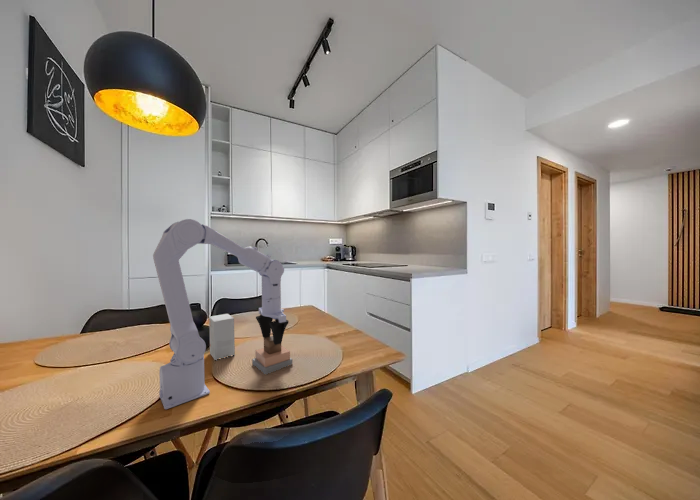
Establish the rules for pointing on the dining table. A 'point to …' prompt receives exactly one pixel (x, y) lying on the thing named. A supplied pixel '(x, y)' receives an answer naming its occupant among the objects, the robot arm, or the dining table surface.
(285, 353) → the terracotta tile
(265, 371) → the slate slab
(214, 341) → the small box
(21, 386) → the dining table surface
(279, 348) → the walnut cube
